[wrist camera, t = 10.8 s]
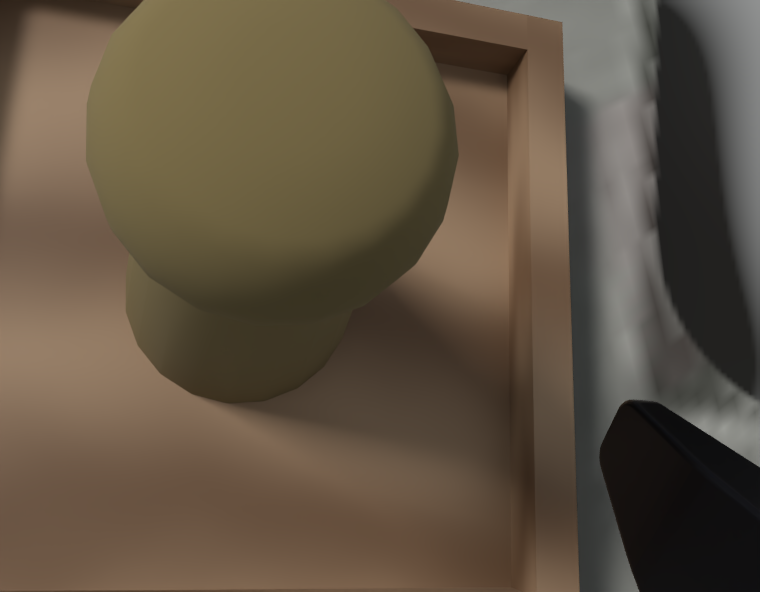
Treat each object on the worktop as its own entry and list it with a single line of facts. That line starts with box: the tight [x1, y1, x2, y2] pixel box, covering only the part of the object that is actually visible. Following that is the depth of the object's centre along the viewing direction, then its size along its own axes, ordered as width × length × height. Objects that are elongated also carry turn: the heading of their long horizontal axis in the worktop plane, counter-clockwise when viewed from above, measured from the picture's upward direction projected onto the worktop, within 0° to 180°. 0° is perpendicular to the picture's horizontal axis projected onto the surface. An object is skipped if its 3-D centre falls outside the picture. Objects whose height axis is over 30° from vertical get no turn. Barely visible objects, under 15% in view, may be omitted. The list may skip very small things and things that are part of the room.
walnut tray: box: [0, 0, 580, 592], centre depth 19 cm, size 18×18×2 cm
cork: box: [86, 0, 459, 403], centre depth 14 cm, size 6×6×11 cm
